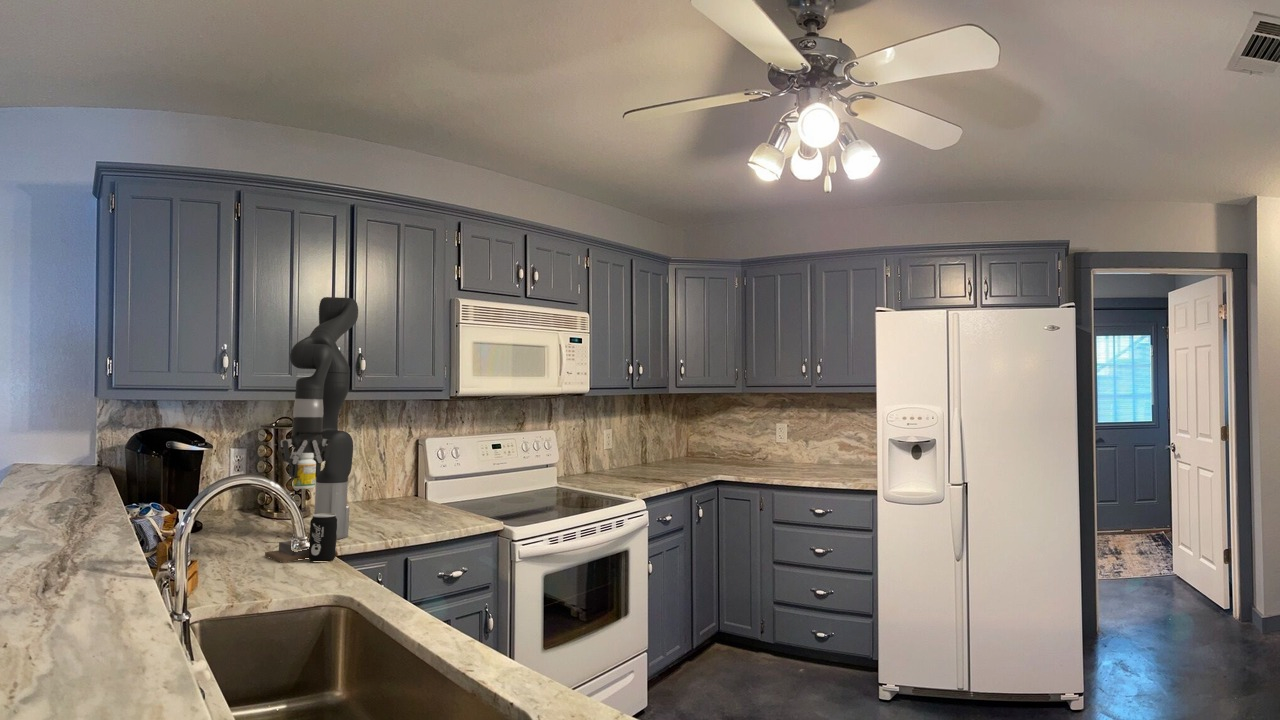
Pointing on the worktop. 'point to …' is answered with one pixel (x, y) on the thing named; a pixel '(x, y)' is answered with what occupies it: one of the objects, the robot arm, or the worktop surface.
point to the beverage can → (323, 537)
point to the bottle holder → (287, 553)
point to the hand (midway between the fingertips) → (304, 477)
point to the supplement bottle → (305, 472)
